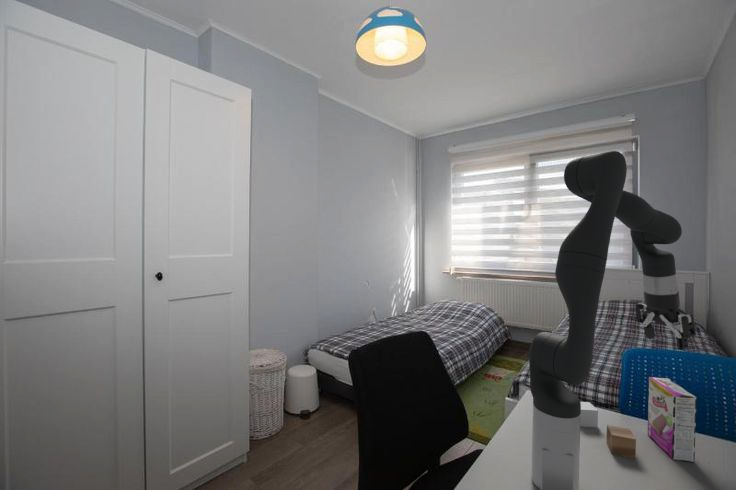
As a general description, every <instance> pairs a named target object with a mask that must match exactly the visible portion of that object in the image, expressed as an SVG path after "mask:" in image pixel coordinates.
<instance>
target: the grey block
mask: <svg viewBox="0 0 736 490" xmlns="http://www.w3.org/2000/svg"><path fill="white" fill-rule="evenodd" d="M580 403H581V419H580V427H582V428H583V427H584V428H585V427H586V428H598V427H599V410H598V409H597V408H596V407H595V406H594V405H593V404H592V403H591V402H590V401H589V402H588V401H580Z"/></svg>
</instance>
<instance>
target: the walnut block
mask: <svg viewBox="0 0 736 490" xmlns="http://www.w3.org/2000/svg"><path fill="white" fill-rule="evenodd" d="M605 441H606V445H607V447H608V449H609V452H610V455H616V456H620V457H624V458H630V459H636V452H637V451H636V450H637V449H636V447H637V444H636V443H637V438H636V437H635V435H634V433H633V432H632V430H631V429H630V428H627V427H622V426H616V425H610V424H606V440H605Z"/></svg>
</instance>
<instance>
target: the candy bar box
mask: <svg viewBox="0 0 736 490" xmlns="http://www.w3.org/2000/svg"><path fill="white" fill-rule="evenodd" d="M647 397H648V400H647V401H648V403H647V404H648V409H647V436H648V437H649V438H650V439H652V440H653V441H654V442H655V444H656V445H658V447H659V448H661V449H662V450H663V451H664V452H665V453H666V454H667V455H668V456H669V457H670V458H671V459H672V460H674V461H678V462H679V461H680V462H689V463H695V462H696V461H695V459H696V457H695V456H696V455H695V454H696V426H697V423H696V421H697V420H696V418H697V396H695V395H694V394H692V393H691V392H689V391H687V390H686V389H684V388H683V387H681V386H680V385H679V384H677V383H676V382H674V381H672V379H670V378H669V377H668V378H667V377H654V376H649V377H648V395H647Z"/></svg>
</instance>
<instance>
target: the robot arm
mask: <svg viewBox="0 0 736 490" xmlns="http://www.w3.org/2000/svg"><path fill="white" fill-rule="evenodd" d="M627 166H628V165H627V162H626V158H625V156H624V154H623V153H621V152H620V151H618V150H610V151H603V152H599V153H593V154H588V155H583V156H579V157H576V158H573V159H571V160H570V161H569V162H568V163H566V166H565V168H564V171H563V172H564V173H563V181H564V184H565V186H566V188H567V189H568V190H569V191H570V192H571V194H574V196H576V197H579V198H581V199H583V200H585V201H586V202H588V203H590V206H589V207H588V210H587V212H586V213H585V214H584V216H583V217H582V218H581V220H580V221H579V222H578V223H576V225H575V226H574V227H573V229H571V231H570V232H569V233H568V234H567V236H566V237H565V238H564V240H563V241H562V243H561V245H560V247H559V250H558V251H559V252H558V255H557V261H556V264H555V273H554V274H555V280H556V282H557V285H558V288H559V291H560V293H561V295H562V297H563V300H564V303H565V305H566V308H567V312H568V322H569V323H568V332H567V336H564V335H560V334H557V333H555V332H554V333H553V332H549V331H541V332H539V333H537V334H535V336H534V337H533V339H532V341H531V343H530V347H529V355H528V360H529V363H528V364H529V388H530V394H531V395H532V429H531V430H532V434H531V437H532V441H531V445H532V446H531V480H532V483H533V484H534V485H535V487H536V488H538V489H539V490H580V451H581V447H580V445H581V426H580V419H581V403H580V402H581V401H580V398H579V397H578V396H577V394H576V393H574V392H573V391H572V390H571V389H570V388H569V387H568V386H566V384H565V383H567V384H569V385H573V386H581V385H582V384H584V383H585V381H586V380H587V378H588V376H589V374H590V371H591V368H592V364H593V363H592V362H593V355H594V345H595V331H596V320H597V312H598V307H599V302H600V301H599V300H600V295H601V291H602V290H601V289H602V285H603V280H604V277H605V272H606V266H607V261H608V255H609V248H610V242H611V236H612V232H613V231H612V230H613V227H614V221H615V218H616V219H618V221H619V222H621V223H622V224H623V225H625V226H626V227H627V228H628V229H630V231H629V232H630V233H629V234H630V238H631V240H632V243H633V244H634V246H635V249H636V251H637V253H638V255H639V258H640V260H641V269H642V271H641V272H642V289H643V299H644V301H643V302H638V303H636V304H635V315H636V322H637V323H640V324H641V325H642V326H643V329H644V335H645V337H646V339H648V340H652V339H654V338H655V337H656V336H655V335H656V334H655V327H654V323H656V324H660V325H663V326H665V327H668V329H669V330H670V331H672V332H673V333H674V334H675V336H676V348H677V350H678V351H685V350H687V349H688V346H689V344H688V341H689V340H688V339H690V338H692V337H696V335H697V331H696V326H695V320H694V319H695V318H694V315H692V313H691V314H690V313H688V314H683V313H681V312H680V310H679V308H680V304H681V302H680V301H681V300H680V291H679V290H680V289H679V280H678V277H677V271H676V260H675V255H674V253H672V252H670V251H666V250H661V249H659V248H657V247H656V246H655V245H671V244H674V243H677V241H679V239H680V238H681V236H682V233H683V232H682V231H683V229H682V226H681V223H680V222H679V221H678V220H677V219H676V218H675V217H674V216H672V215H670V214H668V213H665V212H663V211H660V210H658V209H655V208H654V207H653V205H652V206H651V204H650V203H648V201H647V200H645V199H644V198H643V197H641V196H639V195H637V194H635V193H632V192H630V191H627V190H624V187H625V183H626V180H627V174H628V173H627V171H628V167H627ZM647 314H648V315H647ZM675 324H676V325H675Z"/></svg>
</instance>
